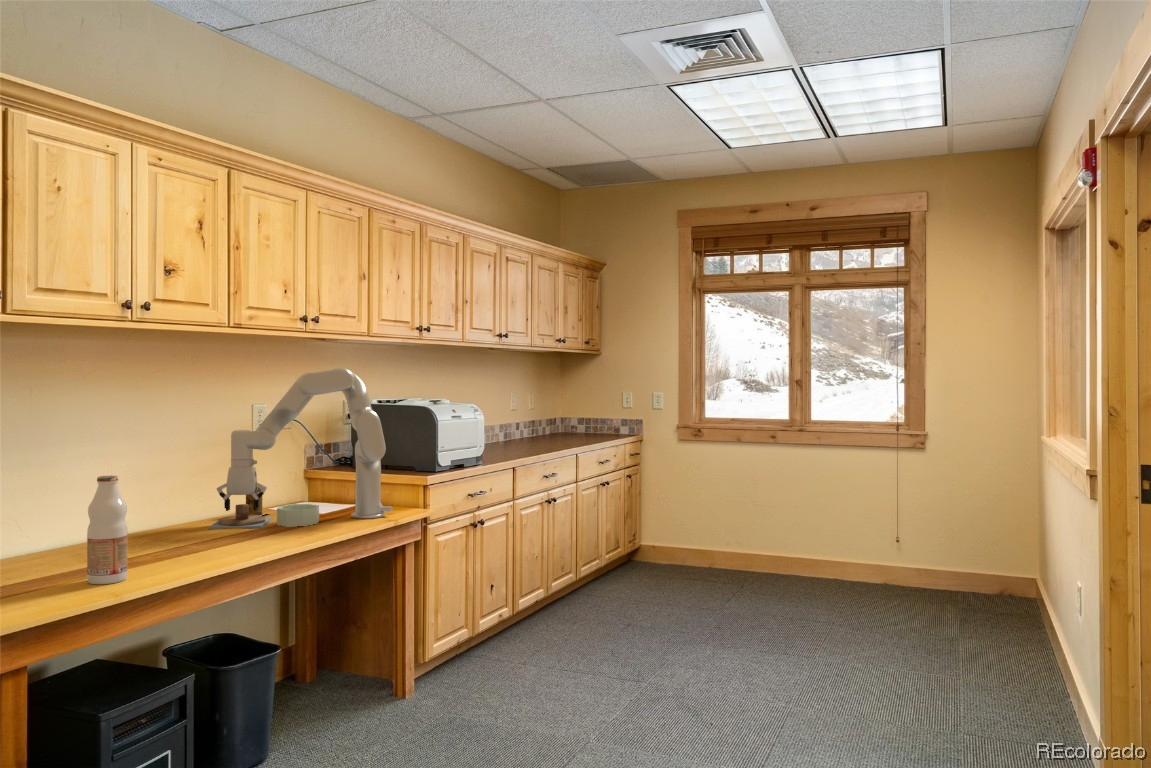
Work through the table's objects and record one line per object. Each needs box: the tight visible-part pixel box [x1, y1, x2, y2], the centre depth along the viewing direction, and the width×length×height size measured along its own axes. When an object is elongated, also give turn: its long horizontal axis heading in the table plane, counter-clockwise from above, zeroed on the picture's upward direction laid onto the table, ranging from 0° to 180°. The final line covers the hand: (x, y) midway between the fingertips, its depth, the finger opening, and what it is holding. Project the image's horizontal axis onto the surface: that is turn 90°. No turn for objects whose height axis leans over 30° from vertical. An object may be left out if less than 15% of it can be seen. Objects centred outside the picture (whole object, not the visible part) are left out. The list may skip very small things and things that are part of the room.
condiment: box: [245, 487, 263, 515], centre depth 323 cm, size 7×8×12 cm
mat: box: [208, 516, 273, 530], centre depth 305 cm, size 18×18×1 cm
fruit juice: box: [86, 475, 128, 585], centre depth 223 cm, size 9×9×28 cm
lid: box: [217, 503, 266, 526], centre depth 305 cm, size 16×16×6 cm
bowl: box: [276, 503, 320, 528], centre depth 308 cm, size 14×14×6 cm
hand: (241, 510), depth 305 cm, fingers open, 9 cm apart
